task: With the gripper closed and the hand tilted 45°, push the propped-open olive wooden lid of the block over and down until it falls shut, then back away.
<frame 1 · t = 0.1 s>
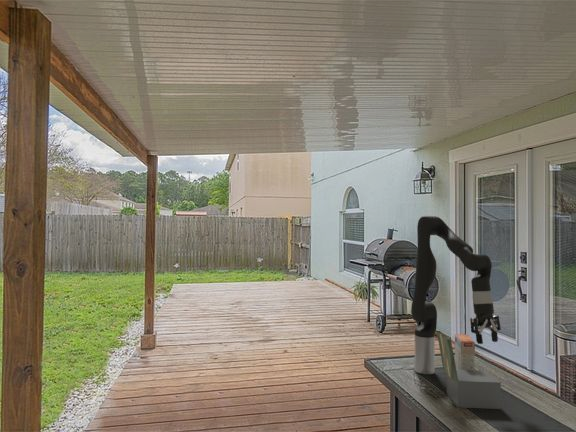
hand: (487, 342, 173), 22 cm above the table, tool pointing down, fingers open, 8 cm apart
cracker box: (464, 385, 186), on the table
block: (472, 400, 169), on the table
lid: (446, 355, 170), point 18 cm above the table, hinge at 100.0°
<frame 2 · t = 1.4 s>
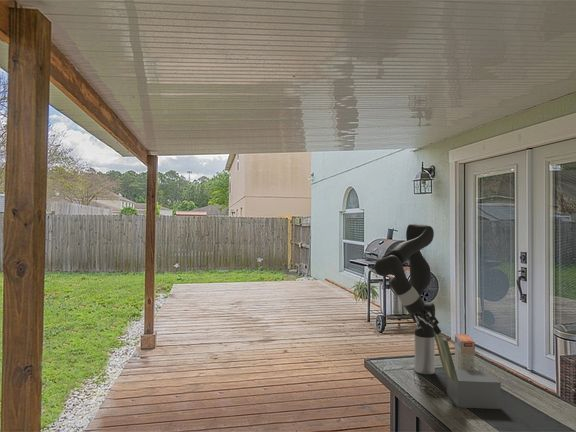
hand: (432, 331, 170), 27 cm above the table, tool tilted 35°, fingers open, 8 cm apart
lid: (445, 355, 170), point 18 cm above the table, hinge at 105.2°
everything else where it was.
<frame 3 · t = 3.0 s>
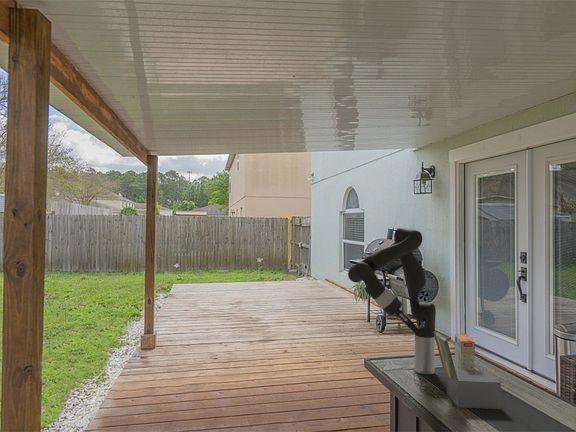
hand: (418, 332, 171), 26 cm above the table, tool tilted 45°, fingers closed
nothing on the table moved.
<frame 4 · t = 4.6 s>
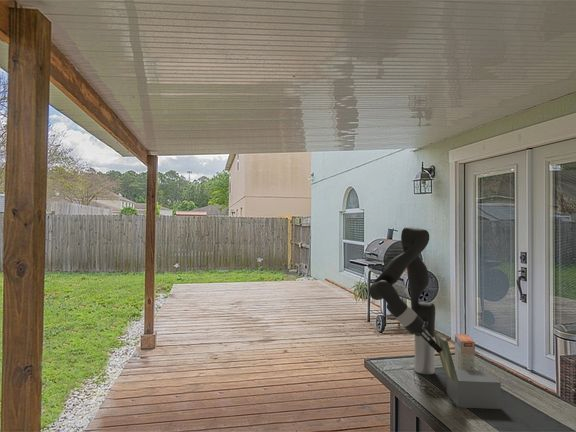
hand: (440, 351, 170), 19 cm above the table, tool tilted 45°, fingers closed
lid: (445, 355, 170), point 18 cm above the table, hinge at 105.2°, touching gripper
everything else where it was.
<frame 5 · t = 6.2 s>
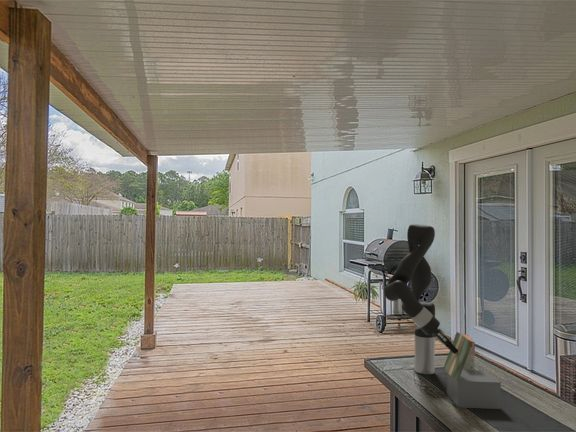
hand: (455, 351, 170), 19 cm above the table, tool tilted 45°, fingers closed
lid: (457, 355, 170), point 18 cm above the table, hinge at 70.1°, touching gripper
everything else where it was.
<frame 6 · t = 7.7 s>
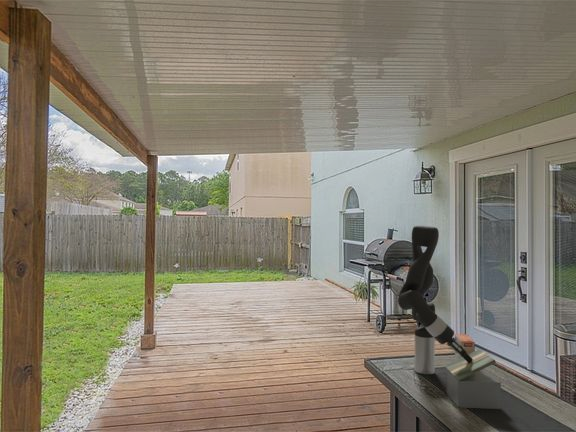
hand: (470, 361, 169), 16 cm above the table, tool tilted 45°, fingers closed
lid: (469, 364, 169), point 14 cm above the table, hinge at 28.3°, touching gripper
everything else where it was.
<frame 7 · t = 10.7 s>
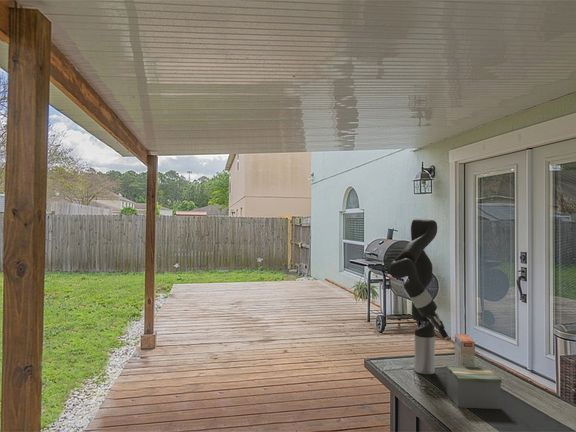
hand: (445, 336, 175), 24 cm above the table, tool tilted 35°, fingers closed
lid: (472, 373, 169), point 11 cm above the table, hinge at -0.1°
everything else where it was.
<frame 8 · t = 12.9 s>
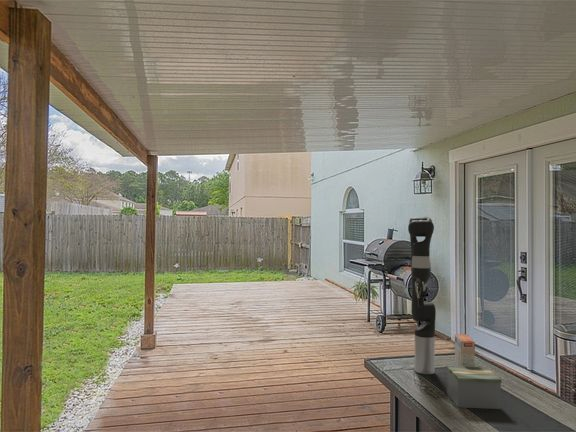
hand: (420, 307, 181), 35 cm above the table, tool pointing down, fingers closed
nothing on the table moved.
at the end: lid at +0° (first picture: +100°); cracker box moved 0.2 cm from its start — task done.
